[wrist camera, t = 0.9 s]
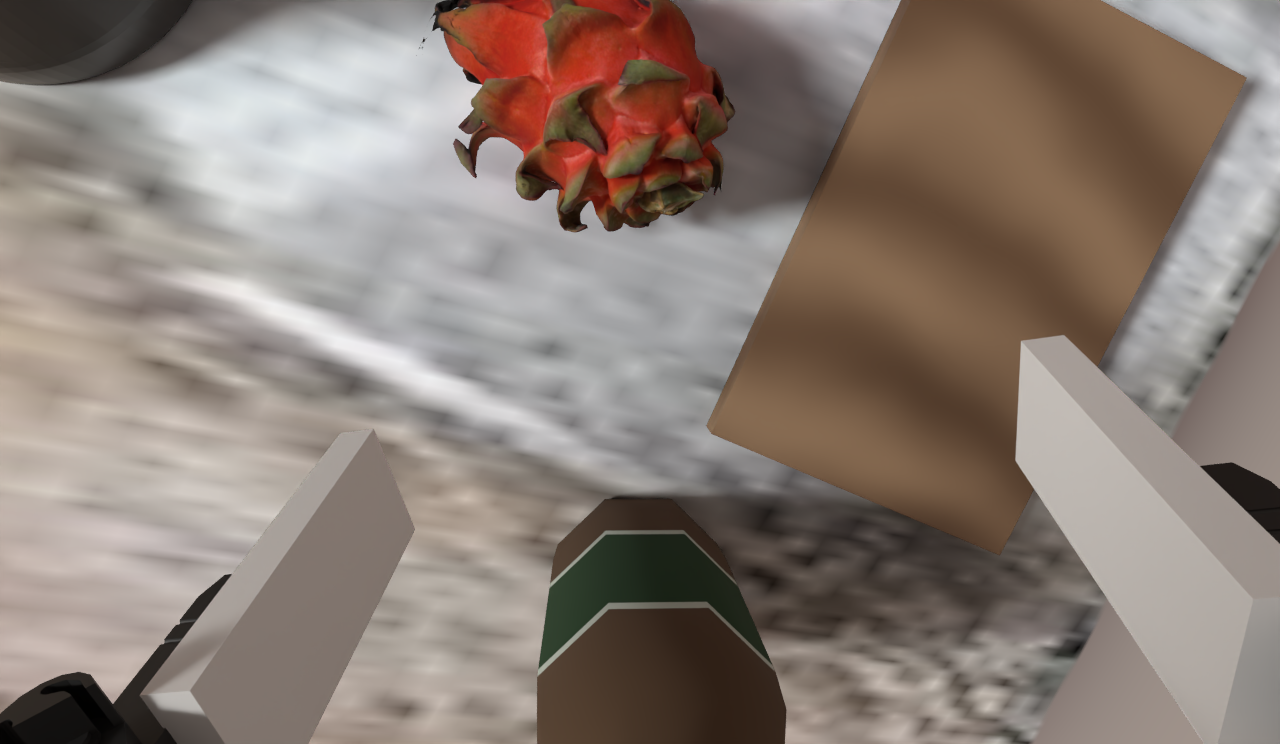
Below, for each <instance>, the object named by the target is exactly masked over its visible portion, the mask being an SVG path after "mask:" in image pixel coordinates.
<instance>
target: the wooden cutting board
mask: <svg viewBox="0 0 1280 744" xmlns="http://www.w3.org/2000/svg"><path fill="white" fill-rule="evenodd" d="M1246 79H1247V78H1246V77H1244V76H1242V75H1241V74H1239V73H1237V72H1235V71H1233V70H1231V69H1229V68H1227V67H1225V66H1224V65H1222V64H1220V63H1218V62H1216V61H1214V60H1212V59H1210V58H1208V57H1207V56H1205V55H1203V54H1201V53H1199V52H1197V51H1195V50H1193V49H1191V48H1190V47H1188V46H1186V45H1184V44H1182V43H1180V42H1178V41H1176V40H1174V39H1173V38H1171V37H1169V36H1167V35H1165V34H1163V33H1161V32H1159V31H1157V30H1155V29H1154V28H1152V27H1150V26H1148V25H1146V24H1144V23H1142V22H1140V21H1138V20H1137V19H1135V18H1133V17H1131V16H1129V15H1127V14H1125V13H1123V12H1121V11H1120V10H1118V9H1116V8H1114V7H1112V6H1110V5H1108V4H1106V3H1104V2H1103V1H1101V0H901V2H900V4H899V6H898V8H897V11H896V13H895V15H894V17H893V19H892V22H891V24H890V26H889V28H888V30H887V33H886V35H885V37H884V39H883V41H882V43H881V46H880V48H879V50H878V52H877V54H876V57H875V59H874V61H873V63H872V65H871V67H870V70H869V72H868V74H867V76H866V78H865V81H864V83H863V85H862V87H861V89H860V92H859V94H858V96H857V98H856V100H855V102H854V105H853V107H852V109H851V111H850V113H849V116H848V118H847V120H846V122H845V124H844V126H843V129H842V131H841V133H840V135H839V137H838V140H837V142H836V144H835V146H834V148H833V150H832V153H831V155H830V157H829V159H828V161H827V164H826V166H825V168H824V170H823V172H822V175H821V177H820V179H819V181H818V183H817V185H816V188H815V190H814V192H813V194H812V196H811V199H810V201H809V203H808V205H807V207H806V209H805V212H804V214H803V216H802V218H801V220H800V223H799V225H798V227H797V229H796V231H795V234H794V236H793V238H792V240H791V242H790V244H789V247H788V249H787V251H786V253H785V255H784V258H783V260H782V262H781V264H780V266H779V268H778V271H777V273H776V275H775V277H774V279H773V282H772V284H771V286H770V288H769V290H768V292H767V295H766V297H765V299H764V301H763V303H762V306H761V308H760V310H759V312H758V314H757V317H756V319H755V321H754V323H753V325H752V327H751V330H750V332H749V334H748V336H747V338H746V341H745V343H744V345H743V347H742V349H741V351H740V354H739V356H738V358H737V360H736V362H735V365H734V367H733V369H732V371H731V373H730V376H729V378H728V380H727V382H726V384H725V386H724V389H723V391H722V393H721V395H720V397H719V400H718V402H717V404H716V406H715V408H714V410H713V413H712V415H711V417H710V419H709V421H708V424H707V428H708V429H709V431H710V432H711V434H713V435H716V436H718V437H721V438H723V439H725V440H728V441H730V442H732V443H735V444H737V445H739V446H742V447H744V448H747V449H749V450H751V451H754V452H756V453H758V454H761V455H763V456H765V457H768V458H770V459H773V460H775V461H777V462H780V463H782V464H784V465H787V466H789V467H792V468H794V469H796V470H799V471H801V472H803V473H806V474H808V475H810V476H813V477H815V478H818V479H820V480H822V481H825V482H827V483H829V484H832V485H834V486H837V487H839V488H841V489H844V490H846V491H848V492H851V493H853V494H855V495H858V496H860V497H863V498H865V499H867V500H870V501H872V502H874V503H877V504H879V505H882V506H884V507H886V508H889V509H891V510H893V511H896V512H898V513H900V514H903V515H905V516H908V517H910V518H912V519H915V520H917V521H919V522H922V523H924V524H927V525H929V526H931V527H934V528H936V529H938V530H941V531H943V532H945V533H948V534H950V535H953V536H955V537H957V538H960V539H962V540H964V541H967V542H969V543H971V544H974V545H976V546H979V547H981V548H983V549H986V550H988V551H990V552H993V553H995V554H998V555H1000V554H1001V552H1002V550H1003V548H1004V546H1005V544H1006V542H1007V540H1008V538H1009V537H1010V535H1011V533H1012V531H1013V529H1014V527H1015V525H1016V523H1017V521H1018V519H1019V517H1020V515H1021V513H1022V511H1023V509H1024V508H1025V506H1026V504H1027V502H1028V500H1029V498H1030V496H1031V494H1032V492H1033V490H1034V488H1033V486H1032V485H1031V483H1030V482H1029V480H1028V479H1027V477H1026V476H1025V474H1024V473H1023V471H1022V470H1021V468H1020V467H1019V465H1018V464H1017V462H1016V461H1015V458H1016V437H1017V416H1018V395H1019V374H1020V353H1021V341H1024V340H1031V339H1038V338H1046V337H1053V336H1061V335H1065V336H1066V337H1067V338H1068V339H1069V340H1070V341H1071V342H1072V343H1073V344H1074V345H1075V346H1076V347H1077V348H1078V349H1079V350H1080V351H1081V352H1082V353H1083V354H1084V355H1085V356H1086V357H1087V358H1088V359H1089V360H1090V361H1091V362H1092V363H1094V364H1095V365H1096V366H1098V365H1099V363H1100V361H1101V359H1102V357H1103V355H1104V353H1105V351H1106V349H1107V347H1108V345H1109V343H1110V341H1111V339H1112V338H1113V336H1114V334H1115V332H1116V330H1117V328H1118V326H1119V324H1120V322H1121V320H1122V318H1123V316H1124V314H1125V312H1126V310H1127V309H1128V307H1129V305H1130V303H1131V301H1132V299H1133V297H1134V295H1135V293H1136V291H1137V289H1138V287H1139V285H1140V283H1141V281H1142V280H1143V278H1144V276H1145V274H1146V272H1147V270H1148V268H1149V266H1150V264H1151V262H1152V260H1153V258H1154V256H1155V254H1156V252H1157V251H1158V249H1159V247H1160V245H1161V243H1162V241H1163V239H1164V237H1165V235H1166V233H1167V231H1168V229H1169V227H1170V225H1171V223H1172V222H1173V220H1174V218H1175V216H1176V214H1177V212H1178V210H1179V208H1180V206H1181V204H1182V202H1183V200H1184V198H1185V196H1186V195H1187V193H1188V191H1189V189H1190V187H1191V185H1192V183H1193V181H1194V179H1195V177H1196V175H1197V173H1198V171H1199V169H1200V167H1201V166H1202V164H1203V162H1204V160H1205V158H1206V156H1207V154H1208V152H1209V150H1210V148H1211V146H1212V144H1213V142H1214V140H1215V138H1216V137H1217V135H1218V133H1219V131H1220V129H1221V127H1222V125H1223V123H1224V121H1225V119H1226V117H1227V115H1228V113H1229V111H1230V109H1231V108H1232V106H1233V104H1234V102H1235V100H1236V98H1237V96H1238V94H1239V92H1240V90H1241V88H1242V86H1243V84H1244V82H1245V81H1246Z"/></svg>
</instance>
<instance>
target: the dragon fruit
mask: <svg viewBox="0 0 1280 744" xmlns="http://www.w3.org/2000/svg"><path fill="white" fill-rule="evenodd" d="M456 7H459V8H458V9H455V10H453V9H454V8H456ZM462 8H466V9H462ZM451 10H452V11H451ZM434 15H436V18H435V22H434V25H433V30H432V31H434V30H435V29H436V28H441V31H444V38H445V42H446V44H447V47H448V49H449V52H450V54H451V56H452V57H453V59H454V60H455V62H456V63H457V64H458V65H459V66H461V67H463V72H464V74H465V75H466V78H467V80H468V81H470V82H473V83H477V84H482V85H483V86H482V88H481V89H480V90H479V92H478V93H477V94H476V96H475V97H474V98H473V99H472V100H471V105H472V107H474V110H473V111H472V112H471V113H470V115H469V116H468V117H467V118H466V119H465V120H464V121H463V122H462V123H461V124H460V125H459V126H458V127H459V128H460V129H461V130H462V131H464V132H465V133H466V134H472V133H473V135H472V137H471V140H470V144H469V149H467V148H466V147H465V145H463V144H462V143H461V142H460V141H459V140H457V139H455V141H454V143H453V145H454V148H455V151H456V153H457V155H458V157H459V159H460V161H461V163H462V165H463V166H464V167H465V168H466V169H467V170H468V171H469V172H470V173H471V175H472V176H473V177H475V178H476V177H477V175H476V173H475V168H476V167H475V166H476V156H477V151H478V149H479V146H480V145H481V144H482V142H484V141H485V140H486V139H488V138H489V137H501V138H505V139H507V140H509V141H510V142H512V143H514V144H515V145H517V146H518V147H519V148H520V149H521V150H522V151H523V152H524V159H523V161H522V162H521V164H520V165H519V167H518V168H517V171H516V190H517V192H518V194H519V195H520V196H521V197H522V198H523V199H526V200H532V201H534V200H537V199H539V198H540V197H541V196H542V195H543V194H544V193H545V191H547V190H552V189H558V190H559V196H558V201H557V212H558V217H559V222H560V225H561V226H562V228H563V229H564V230H566V231H571V232H579V231H582V230H584V229H586V228H587V225H585V224H581V221H580V213H581V211H582V209H583V208H584V206H585V205H586V204H587V203H588V202H589V201H592V202H593V205H594V208H595V211H596V215H597V216H598V217H599V219H600V221H601V222H602V223H603V225H604V228H605V229H606V230H607V231H608V232H609V231H616V230H618V229H620V228H621V227H622V225H623V223H625V224H627V225H629V226H630V227H633V228H642V227H645V226H649V223H650V222H651V221H654V220H657V219H658V218H659V216H660V214H665V215H672V216H673V215H677V214H678V213H681V212H683V211H684V210H685V209H686V208H687V207H689V206H691V205H692V204H693V203H694V202H695V201H696V200H699V199H701V198H702V197H703V196H704V193H701V192H699V191H706V192H708V191H709V189H710V187H715V189H714V195H715V192H716V190H717V189H718V187H719V188H720V190H721V181H722V174H723V158H722V156H721V154H720V152H719V151H718V150H717V149H716V148H715V147H714V145H713V144H712V140H713V139H715V138H717V137H719V136H721V135H722V134H724V133H725V132H726V131H727V129H728V127H727V122H728V121H729V120H730V119H731V118H732V117H733V116H734V114H735V109H734V107H733V105H732V104H731V103H730V101H729V99H728V97H727V96H726V95H725V93H724V88H723V84H722V81H721V78H720V75H719V74H718V72H717V70H716V69H715V68H713V67H710V66H707V65H705V64H703V63H701V62H700V61H699V60H698V58H697V55H696V51H695V37H694V34H693V32H692V29H691V27H690V24H689V22H688V21H687V19H686V17H685V16H684V14H683V12H682V11H681V10H680V8H679V7H677V6H676V5H675V4H674V3H672V2H671V1H670V0H445V1H442V2H439V3H437V4H436V6H435V13H434V14H433V16H434ZM433 16H432V17H433ZM427 38H428V37H427ZM427 38H426V39H427ZM426 39H425V40H426ZM425 40H424V39H423V42H424V41H425ZM420 46H421V45H420ZM422 48H423V47H422ZM419 49H420V47H419ZM483 121H484V122H483ZM552 181H553V182H552ZM555 182H556V183H555Z"/></svg>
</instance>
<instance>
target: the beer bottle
mask: <svg viewBox="0 0 1280 744" xmlns="http://www.w3.org/2000/svg"><path fill="white" fill-rule="evenodd" d="M785 728H786V706H785V703H784V700H783V696H782V693H781V689H780V686H779V682H778V679H777V675H776V672H775V670H774V668H773V665H772V663H771V661H770V658H769V656H768V654H767V652H766V649H765V647H764V645H763V643H762V640H761V638H760V636H759V633H758V631H757V629H756V627H755V624H754V622H753V620H752V617H751V615H750V613H749V611H748V608H747V606H746V604H745V601H744V599H743V597H742V595H741V592H740V590H739V588H738V586H737V583H736V581H735V579H734V576H733V574H732V572H731V570H730V567H729V565H728V563H727V560H726V558H725V557H724V555H723V553H722V552H721V550H720V548H719V547H718V545H717V543H716V542H714V541H713V540H712V539H711V538H710V537H709V536H708V535H707V534H706V533H705V532H704V531H703V530H702V529H701V528H700V527H699V526H698V525H697V524H696V523H695V522H694V521H693V520H692V519H691V518H690V517H689V516H688V515H687V514H686V513H685V512H684V511H683V510H682V509H681V508H680V507H679V506H678V505H677V504H676V503H675V502H674V501H673V500H672V499H605V500H604V501H603V502H602V503H601V504H600V505H599V506H598V507H597V508H596V509H595V510H593V511H592V512H591V513H590V514H589V515H588V516H587V517H586V518H585V519H584V520H583V521H582V522H581V523H580V524H579V525H578V526H577V527H576V528H575V529H574V530H573V531H572V532H571V533H569V534H568V535H567V536H566V537H565V538H564V539H563V540H562V541H561V542H560V543H559V544H558V546H557V549H556V553H555V556H554V560H553V567H552V574H551V581H550V589H549V596H548V603H547V610H546V618H545V625H544V632H543V639H542V647H541V654H540V661H539V668H538V676H537V744H785Z"/></svg>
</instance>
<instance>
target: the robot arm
mask: <svg viewBox="0 0 1280 744" xmlns="http://www.w3.org/2000/svg"><path fill="white" fill-rule="evenodd" d="M191 2H192V0H0V81H2V82H8V83H17V84H32V85H42V84H58V83H67V82H72V81H78V80H82V79H86V78H90V77H94V76H97V75H100V74H102V73H105V72H108V71H110V70H113V69H115V68H117V67H119V66H121V65H123V64H125V63H127V62H129V61H131V60H132V59H134V58H136V57H137V56H139V55H140V54H142V53H143V52H145V51H146V50H147V49H149V48H150V47H151V46H152V45H154V44H155V43H156V42H158V41H159V40H160V39H161V38H162V37H163V36H164V35H165V34H166V33H167V32H168V31H169V30H170V29H171V28H172V27H173V26H174V24H175V23H176V22H177V21H178V20H179V19H180V17H181V16H182V15H183V13H184V12H185V11H186V9H187V8H188V6H189V5H190V3H191ZM1015 461H1016V462H1017V464H1018V465H1019V467H1020V468H1021V470H1022V471H1023V473H1024V474H1025V476H1026V477H1027V479H1028V480H1029V482H1030V483H1031V485H1032V486H1033V488H1034V489H1035V491H1036V492H1037V494H1038V495H1039V497H1040V498H1041V500H1042V501H1043V503H1044V504H1045V506H1046V507H1047V509H1048V510H1049V512H1050V514H1051V515H1052V517H1053V518H1054V520H1055V521H1056V523H1057V524H1058V526H1059V527H1060V529H1061V530H1062V532H1063V533H1064V535H1065V536H1066V538H1067V539H1068V541H1069V542H1070V544H1071V545H1072V547H1073V548H1074V550H1075V551H1076V553H1077V554H1078V556H1079V557H1080V559H1081V560H1082V562H1083V563H1084V565H1085V566H1086V568H1087V569H1088V571H1089V572H1090V574H1091V575H1092V577H1093V578H1094V580H1095V581H1096V583H1097V584H1098V586H1099V587H1100V589H1101V590H1102V592H1103V593H1104V595H1105V596H1106V598H1107V599H1108V601H1109V602H1110V603H1111V605H1112V607H1113V608H1114V610H1115V611H1116V613H1117V614H1118V616H1119V617H1120V619H1121V620H1122V621H1123V623H1124V625H1125V626H1126V628H1127V629H1128V631H1129V632H1130V634H1131V635H1132V637H1133V638H1134V640H1135V641H1136V643H1137V644H1138V645H1139V647H1140V649H1141V650H1142V652H1143V653H1144V655H1145V656H1146V658H1147V659H1148V661H1149V662H1150V664H1151V665H1152V667H1153V668H1154V670H1155V671H1156V673H1157V674H1158V676H1159V677H1160V679H1161V680H1162V682H1163V683H1164V685H1165V686H1166V688H1167V689H1168V691H1169V692H1170V694H1171V695H1172V697H1173V698H1174V700H1175V701H1176V703H1177V704H1178V706H1179V707H1180V709H1181V710H1182V712H1183V713H1184V715H1185V716H1186V718H1187V719H1188V721H1189V722H1190V724H1191V725H1192V727H1193V728H1194V730H1195V731H1196V733H1197V734H1198V736H1199V737H1200V739H1201V740H1202V742H1203V743H1204V744H1280V489H1279V488H1277V486H1275V485H1274V484H1273V483H1272V482H1271V481H1269V480H1267V479H1265V478H1263V477H1261V476H1259V475H1257V474H1255V473H1253V472H1251V471H1249V470H1246V469H1244V468H1242V467H1240V466H1238V465H1236V464H1234V463H1224V464H1214V465H1206V466H1199V465H1198V464H1197V463H1196V462H1195V461H1194V460H1193V459H1192V458H1191V457H1190V456H1189V455H1188V454H1186V453H1185V452H1184V451H1183V450H1182V449H1181V448H1180V447H1179V446H1178V445H1177V444H1176V443H1175V442H1174V441H1173V440H1172V439H1171V438H1170V437H1169V436H1168V435H1167V434H1166V433H1165V432H1164V431H1163V430H1162V429H1161V428H1160V427H1159V426H1158V425H1157V424H1155V423H1154V422H1153V421H1152V420H1151V419H1150V418H1149V417H1148V416H1147V415H1146V414H1145V413H1144V412H1143V411H1142V410H1141V409H1140V408H1139V407H1138V406H1137V405H1136V404H1135V403H1134V402H1133V401H1132V400H1131V399H1130V398H1129V397H1128V396H1127V395H1126V394H1125V393H1123V392H1122V391H1121V390H1120V389H1119V388H1118V387H1117V386H1116V385H1115V384H1114V383H1113V382H1112V381H1111V380H1110V379H1109V378H1108V377H1107V376H1106V375H1105V374H1104V373H1103V372H1102V371H1101V370H1100V369H1099V368H1098V367H1097V366H1096V365H1095V364H1094V363H1092V362H1091V361H1090V360H1089V359H1088V358H1087V357H1086V356H1085V355H1084V354H1083V353H1082V352H1081V351H1080V350H1079V349H1078V348H1077V347H1076V346H1075V345H1074V344H1073V343H1072V342H1071V341H1070V340H1069V339H1068V338H1067V337H1066V336H1065V335H1061V336H1053V337H1046V338H1038V339H1031V340H1024V341H1021V353H1020V374H1019V395H1018V416H1017V437H1016V458H1015ZM414 531H415V528H414V525H413V523H412V521H411V518H410V516H409V513H408V511H407V508H406V506H405V504H404V501H403V499H402V496H401V494H400V491H399V489H398V487H397V484H396V482H395V479H394V477H393V474H392V472H391V470H390V467H389V465H388V462H387V460H386V457H385V455H384V453H383V450H382V448H381V445H380V443H379V441H378V438H377V436H376V433H375V431H374V429H367V430H360V431H353V432H345V433H340V434H339V436H338V437H337V438H336V440H335V441H334V442H333V443H332V445H331V446H330V447H329V449H328V450H327V451H326V453H325V454H324V455H323V456H322V458H321V459H320V460H319V462H318V463H317V464H316V466H315V467H314V468H313V470H312V471H311V472H310V473H309V475H308V476H307V477H306V479H305V480H304V481H303V483H302V484H301V485H300V486H299V488H298V489H297V490H296V492H295V493H294V494H293V496H292V497H291V498H290V500H289V501H288V502H287V503H286V505H285V506H284V507H283V509H282V510H281V511H280V513H279V514H278V515H277V516H276V518H275V519H274V520H273V522H272V523H271V524H270V526H269V527H268V528H267V529H266V531H265V532H264V533H263V535H262V536H261V537H260V539H259V540H258V541H257V543H256V544H255V545H254V546H253V548H252V549H251V550H250V552H249V553H248V554H247V556H246V557H245V558H244V559H243V561H242V562H241V563H240V565H239V566H238V567H237V569H236V570H235V571H234V573H233V574H229V575H224V576H223V577H222V578H221V579H219V580H218V581H217V582H216V583H215V584H213V585H212V586H211V587H210V588H208V589H207V590H206V591H205V592H204V593H202V594H201V595H200V596H199V597H198V598H197V599H196V600H195V602H194V603H193V604H192V605H191V607H190V608H189V609H188V610H187V612H186V613H185V614H184V615H183V617H182V618H181V619H180V624H179V625H176V626H175V627H174V628H173V629H172V631H171V632H170V633H169V634H168V636H167V637H166V638H165V639H164V640H165V643H164V644H161V645H160V646H159V647H158V648H157V649H156V651H155V652H154V653H153V655H152V656H151V657H150V658H149V660H148V661H147V662H146V663H145V665H144V666H143V667H142V668H141V670H140V671H139V672H138V673H137V675H136V676H135V677H134V678H133V680H132V681H131V682H130V683H129V685H128V686H127V687H126V689H125V690H124V691H123V692H122V694H121V695H120V696H119V697H118V699H117V700H116V701H115V702H114V704H112V703H111V701H110V700H109V699H108V697H107V696H106V695H105V693H104V692H103V691H102V689H101V688H100V687H99V685H98V684H97V683H96V681H95V680H94V679H93V677H92V676H91V675H90V674H85V673H81V672H76V673H71V674H65V675H61V676H58V677H56V678H54V679H51V680H49V681H47V682H44V683H42V684H40V685H38V686H37V687H35V688H34V689H32V690H30V691H29V692H27V693H25V694H24V695H22V696H21V697H19V698H18V699H17V700H16V701H15V702H13V703H12V704H11V705H10V706H9V707H7V708H6V709H5V710H4V711H3V712H2V713H1V714H0V744H308V743H309V741H310V739H311V737H312V735H313V733H314V731H315V729H316V727H317V725H318V723H319V721H320V719H321V717H322V715H323V713H324V711H325V709H326V707H327V705H328V703H329V701H330V699H331V697H332V695H333V693H334V691H335V689H336V687H337V685H338V683H339V681H340V679H341V677H342V675H343V673H344V671H345V669H346V667H347V665H348V663H349V661H350V659H351V657H352V655H353V653H354V651H355V649H356V647H357V645H358V643H359V641H360V639H361V637H362V635H363V633H364V631H365V629H366V627H367V625H368V623H369V621H370V619H371V617H372V615H373V613H374V611H375V609H376V607H377V605H378V603H379V601H380V599H381V597H382V595H383V593H384V591H385V589H386V587H387V585H388V583H389V581H390V579H391V577H392V575H393V573H394V571H395V569H396V567H397V565H398V563H399V561H400V559H401V557H402V555H403V553H404V551H405V549H406V547H407V545H408V543H409V541H410V539H411V537H412V535H413V533H414Z"/></svg>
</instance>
